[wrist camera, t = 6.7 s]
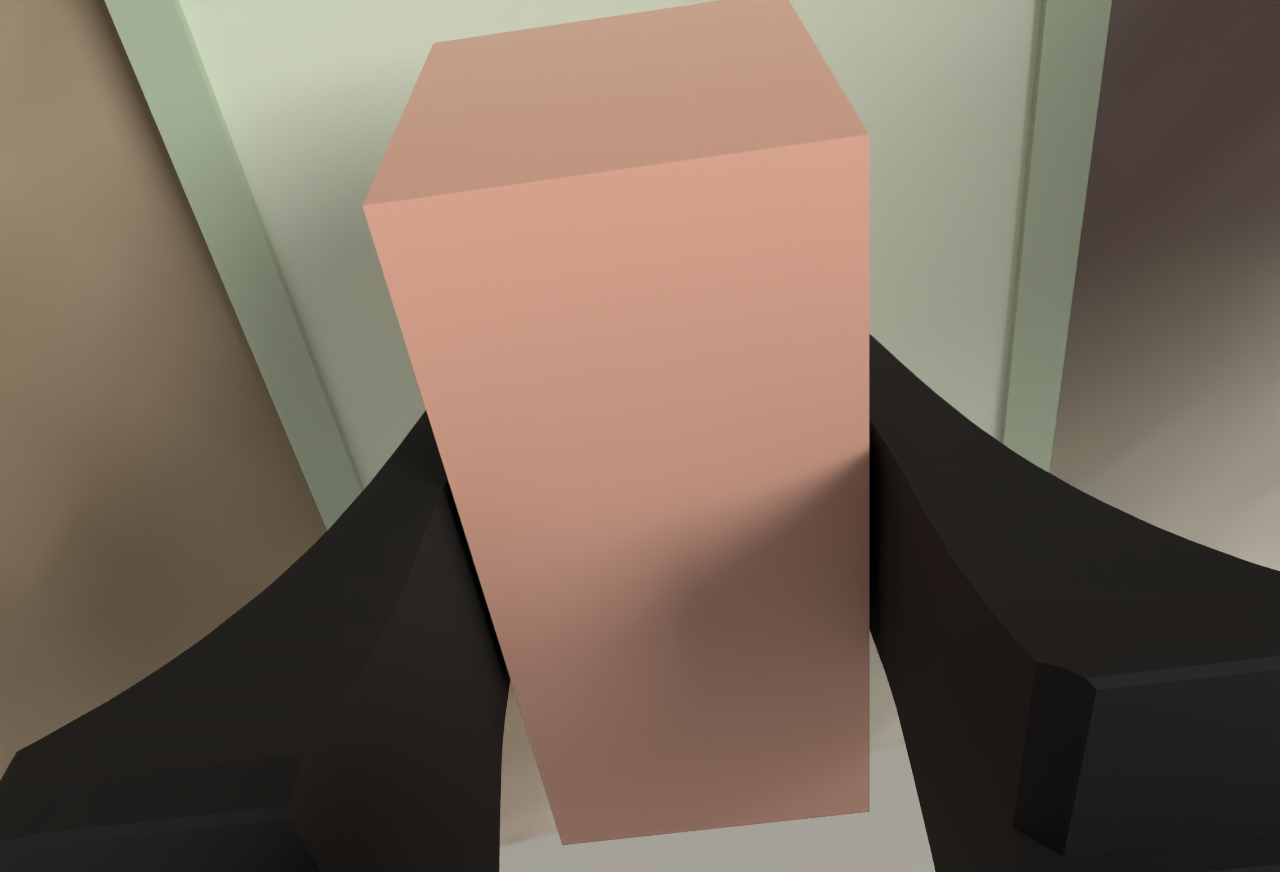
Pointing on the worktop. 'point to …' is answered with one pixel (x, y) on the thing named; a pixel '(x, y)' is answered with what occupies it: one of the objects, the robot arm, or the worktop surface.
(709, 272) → the coral brick
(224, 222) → the baseplate
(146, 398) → the worktop surface
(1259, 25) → the worktop surface
